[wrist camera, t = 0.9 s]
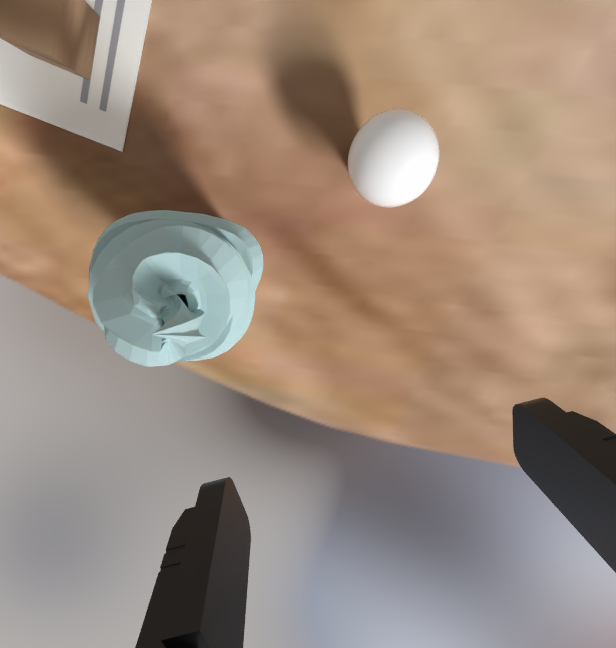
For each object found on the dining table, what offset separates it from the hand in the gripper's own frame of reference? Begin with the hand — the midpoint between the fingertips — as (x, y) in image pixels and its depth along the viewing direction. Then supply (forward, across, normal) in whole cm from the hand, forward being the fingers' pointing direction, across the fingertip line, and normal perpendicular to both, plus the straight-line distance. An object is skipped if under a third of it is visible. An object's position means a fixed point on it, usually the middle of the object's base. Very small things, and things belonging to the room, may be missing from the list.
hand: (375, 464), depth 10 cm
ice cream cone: (+27, +8, -3) cm, 29 cm away
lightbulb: (+27, -8, -8) cm, 30 cm away
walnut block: (+27, +14, -22) cm, 38 cm away
